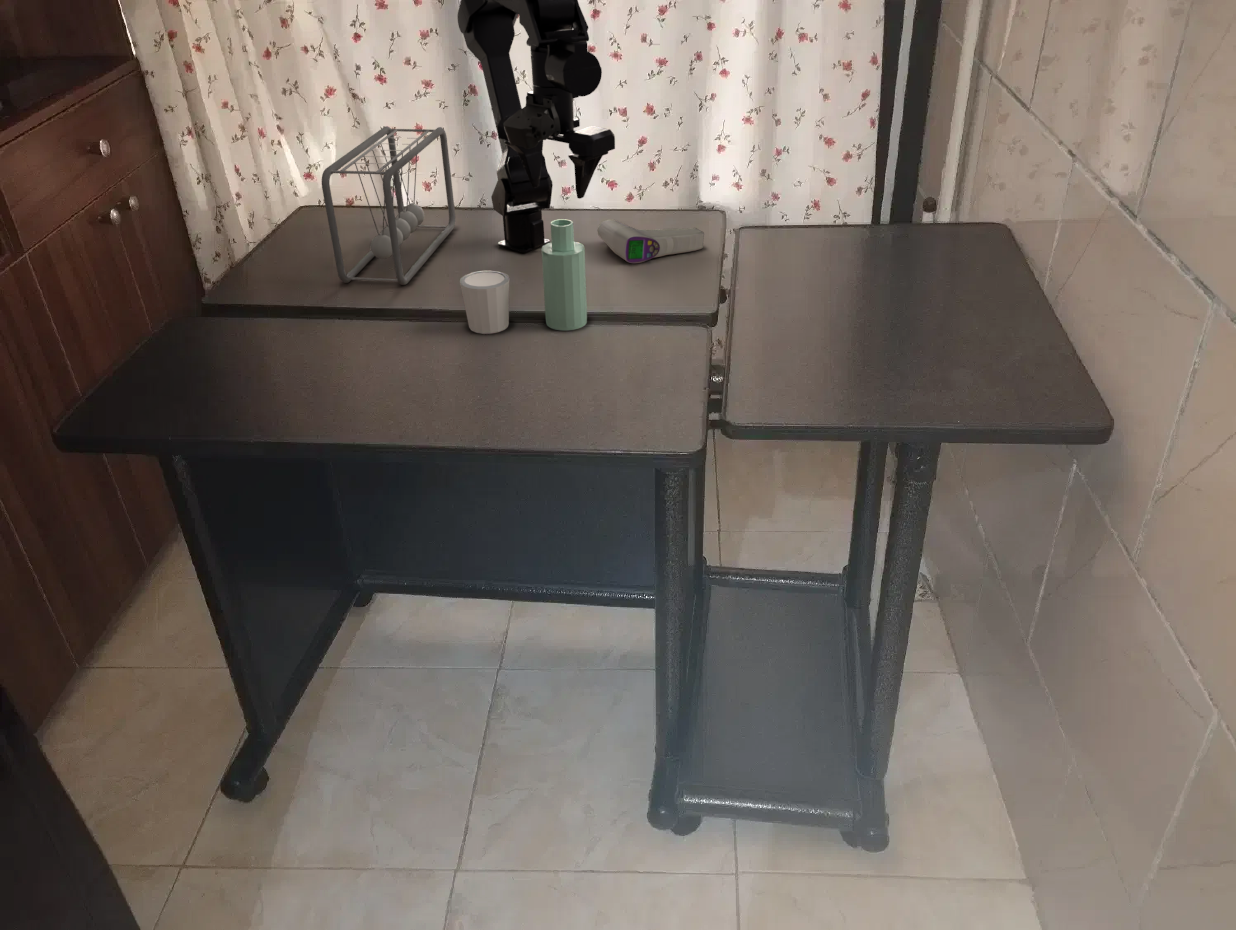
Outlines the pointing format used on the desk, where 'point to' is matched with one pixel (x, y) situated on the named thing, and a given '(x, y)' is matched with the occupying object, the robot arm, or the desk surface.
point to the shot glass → (486, 301)
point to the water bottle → (564, 278)
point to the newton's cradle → (390, 203)
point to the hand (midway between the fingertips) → (557, 192)
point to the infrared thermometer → (648, 241)
